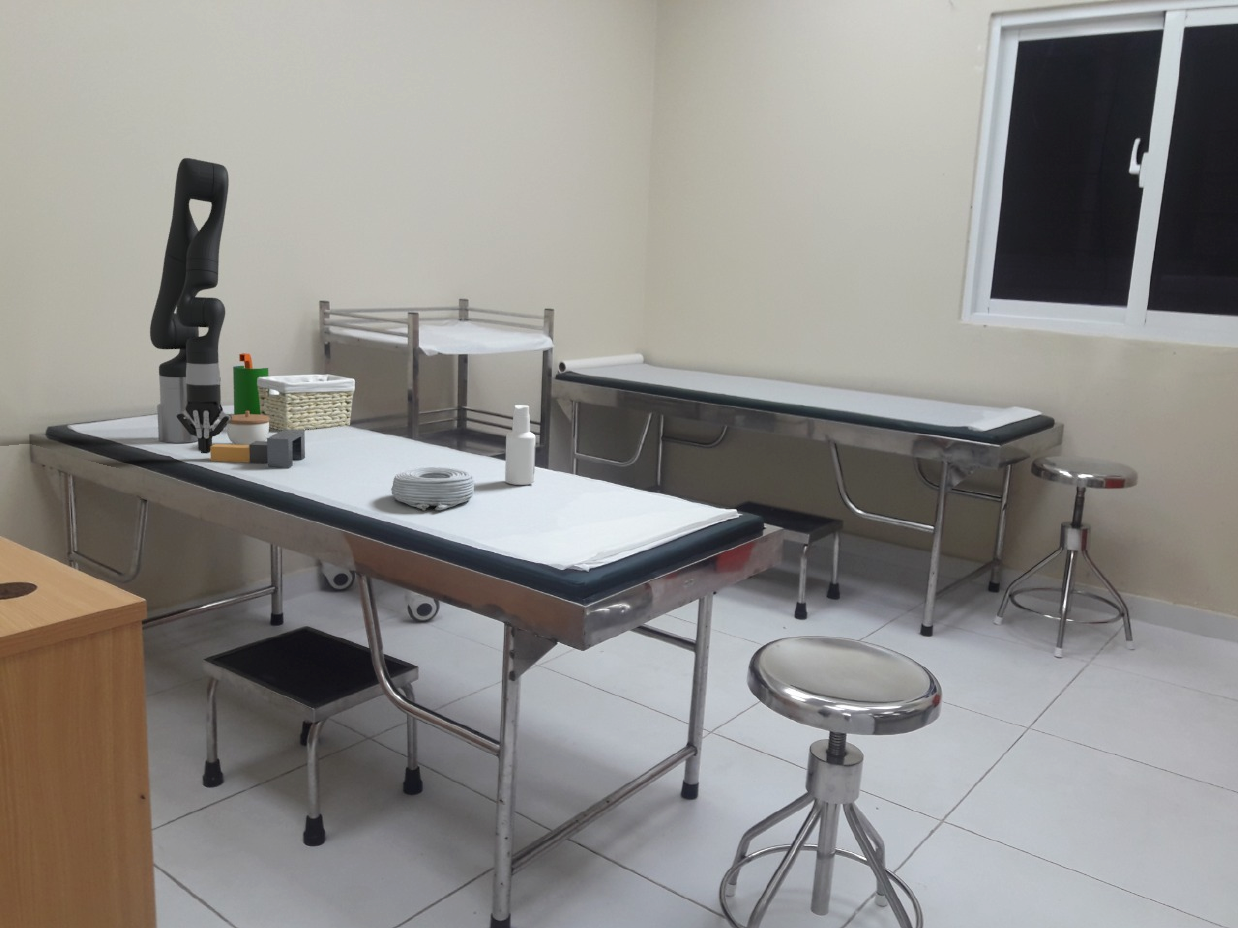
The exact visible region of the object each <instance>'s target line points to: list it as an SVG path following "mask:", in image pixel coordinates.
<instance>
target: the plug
mask: <svg viewBox="0 0 1238 928" xmlns="http://www.w3.org/2000/svg"><path fill="white" fill-rule="evenodd" d="M209 454H210V461H212V462H233V463H234V462H235V463H237V462H238V463H249V464H266V465H268V460H267V440H265V441H255V442H253V443H251V444H249V445H234V444H230V443H229V444H227V443H226V444H225V443H215V444H212V446H210V452H209Z"/></svg>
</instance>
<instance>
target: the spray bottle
mask: <svg viewBox="0 0 1238 928" xmlns="http://www.w3.org/2000/svg"><path fill="white" fill-rule="evenodd" d="M513 411H514V412H513V414H512V431H510V432H508V433H507V434H506V435H505V436H506V438H505V468H504V469H505V471H504V473H505V474H504V475H505V476H504V481H505V483H507V484H509V485H515V486H525V485H526V486H527V485H531V484H533V483H534V482H535V471H536V469H535V462H536V435H535V434H534V433H533V432H531V424H530V423H531V422H530V419H531V416H530V406H529V405H526V404H515V405H514V410H513Z"/></svg>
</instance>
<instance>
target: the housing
mask: <svg viewBox="0 0 1238 928" xmlns="http://www.w3.org/2000/svg"><path fill="white" fill-rule="evenodd" d="M305 431H306V430H288V429H284V430H282V431H278V432H276V433H275V434H272V435H271V436H269V437H268V436H267V439H266V441H267V460H268V464H267V468H273V469H274V468H275V469H276V468H277V469H290V468H292V467H293V466H294V463H293V462H294V461H302V460H304V459H305V458H306V444H305V443H306V441H305V440H306V439H305V436H306V435H305ZM293 460H294V461H293Z"/></svg>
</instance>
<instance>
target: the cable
mask: <svg viewBox="0 0 1238 928" xmlns="http://www.w3.org/2000/svg"><path fill="white" fill-rule="evenodd" d="M390 490H391V495H392V496H393V497H394V499H395V500H397V501H398V502H402V503H405V504H406V505H409V506H411V507H413V508H417V509H419V510H420V509H421V510H422V511H426V510H427V509H428V508H429V507H430V506H431V507H433V506H434V507H435V508H434V510H435V511H442V510H446V509H448V508H453V507H455V506H458V505H459V504H463V503H465V502H467V501H469V500H471V499H472V498H473V496H474V494H475V493H474V491H475V480H474V476H473V475H472V474H470V473H469V472H467V471H465V470H462V469H458V468H450V467H441V466H437V467H436V466H426V467H416V468H414V467H413V468H410V469H405V470H403V471H400V472H398V473H397V474H395V475H394V478H393V481H392V486H391V488H390Z"/></svg>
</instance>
